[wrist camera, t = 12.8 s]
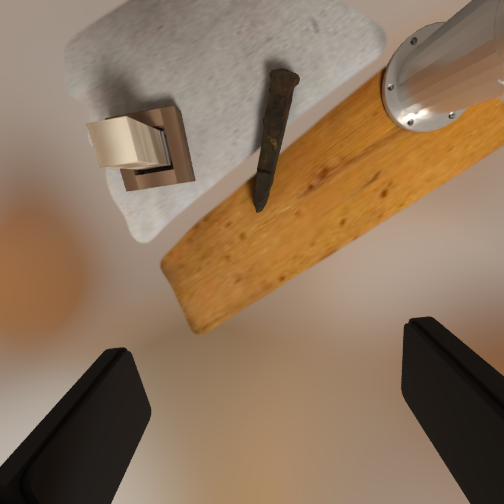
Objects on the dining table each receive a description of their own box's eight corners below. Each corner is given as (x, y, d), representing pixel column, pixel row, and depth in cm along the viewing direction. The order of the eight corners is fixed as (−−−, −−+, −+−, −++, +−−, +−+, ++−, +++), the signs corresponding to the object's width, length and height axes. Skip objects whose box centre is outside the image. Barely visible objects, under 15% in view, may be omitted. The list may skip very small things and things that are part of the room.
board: (180, 111, 36) (173, 105, 33) (195, 180, 39) (190, 181, 36) (117, 122, 37) (105, 118, 34) (136, 190, 40) (126, 191, 37)
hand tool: (270, 75, 34) (271, 61, 30) (298, 82, 34) (303, 69, 30) (241, 206, 40) (238, 210, 36) (264, 212, 40) (264, 217, 36)
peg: (168, 134, 37) (126, 115, 25) (175, 165, 38) (138, 161, 27) (139, 138, 37) (85, 122, 26) (148, 170, 39) (99, 168, 27)
